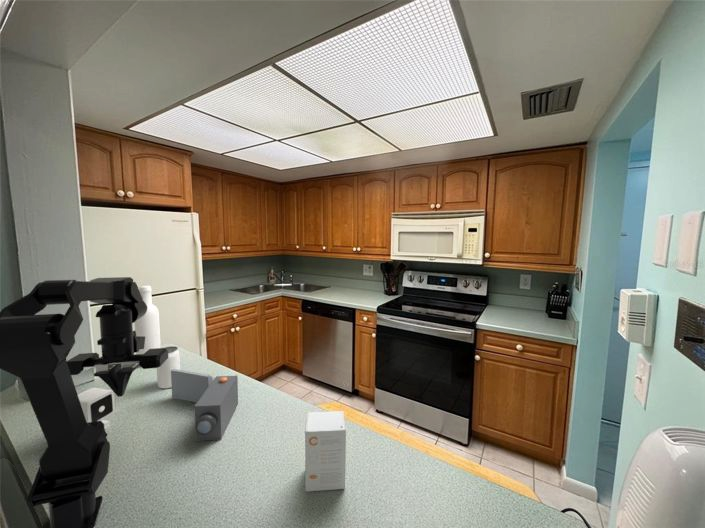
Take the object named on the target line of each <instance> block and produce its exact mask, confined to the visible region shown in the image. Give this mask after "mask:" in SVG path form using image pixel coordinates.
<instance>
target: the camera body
mask: <svg viewBox="0 0 705 528" xmlns="http://www.w3.org/2000/svg"><path fill="white" fill-rule="evenodd" d="M210 383H211V384H210V386H209V387H208V388H207V390H206V391H205V392H204V394H203V395H202V397H201V398H200V399H199V401H198V402H195V405H194V429H195V430H194V431H195V433H194V434H195V441H197V442H198V441H199V442H200V441H214V440H215V441H216V440H222V439H223V437H224V436H225V435H224V434H225V433H226V430H227V428H228V426H229V425H230V422H231V420H232V418H233V416H234V413H235V411H236V410H237V408H236V407H238V406H237V405H239V393H238V392H239V388H238V387H239V386H238V384H239V382H238V375H221V376H219V375H217V376H216V375H210Z"/></svg>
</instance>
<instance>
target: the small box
mask: <svg viewBox="0 0 705 528" xmlns="http://www.w3.org/2000/svg"><path fill="white" fill-rule="evenodd" d="M345 421H346V420H345V414H344V410H334V411H314V412H313V411H312V412H307V413H306V421H305V422H306V423H305V430H304V438H305V439H304V441H305V442H304V444H305V446H304V447H305V448H304V449H305V450H304V451H305V453H304V454H305V455H304V457H305V461H304V463H305V464H304V468H305V469H304V474H305V475H304V481H305V488H304V489H305V492H307V493H309V492H317V491H331V490H332V491H333V490H334V491H335V490H345V489H346V449H347V447H346V446H347V445H346V444H347V443H346V442H347V441H346V439H347V430H346V429H347V428H346V423H345Z"/></svg>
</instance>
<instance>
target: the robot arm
mask: <svg viewBox="0 0 705 528" xmlns="http://www.w3.org/2000/svg"><path fill="white" fill-rule="evenodd" d="M88 301H89V302H90V303H94V304H99V305H102V306H101V308H100V309H99V310H98V311H97V312H96V314H95V317H96V318H99V329H100V338H99V339H98V340H97V346H100V347H101V356H100V354H99V353H98V352H87V353H86V352H85V353H78V354H77V355H75V356H73V357H71V358H69V359H68V360H67V358H68V356H69V354H70V352H71V350H72V349H73V347H74V346H75V344H76V338H75V336H76V334H77V332H78V331H79V329H80V327H81V325H82V323H83V321H84V317H83V315H82V314H83V313H82V312H81V309H80V307H79V306H80V305H81V303H82V302H88ZM68 304H69V307H68V309H67V310H66V312H65V313H64V314H62V313H47V314H38V313H40V312H41V311H43V310H45V308H46V307H47V306H52V305H68ZM146 312H147V305H146V303H145V302H144V301H143V298H142V296H141V294H140V291H139V287H138V283H137V282H136V281H134V278H133V277H130V276H126V277H123V276H122V277H119V276H118V277H97V278H94V279H90V281H89V280H88V281H84V280H82V281H81V280H80V281H79V280H76V279H52V280H51V279H50V280H49V279H48V280H44V281H41V282H38V283H37V284H35V285H34V287H33V288H32V290H31V291H30V292H29V293H28V294H25V295H24V296H22V297H20V298H19V299H17V300H16V301H14V302H12V303H10V304H8V305H7V306H5V307H3V308H2V309H1V311H0V370H1V371H4V372H7V373H9V374H11V375H13V376H15V377H17V378H19V379H20V382H21V383H22V386H23V389H24V391H25V393H26V396H27V399H28V401H29V403H30V405H31V408H32V411H33V412H34V415H35V417H36V420H37V422H38V424H39V427H40V429H41V432H42V434H43V436H44V437H43V438H44V439H45V441H46V444H47V446H46V448H45V449H44V451H43V453H42V455H41V456H40V458H39V459H38V464H39V467H38V469H37V472H36V475H35V478H34V481H33V483H32V485H31V488H30V490H29V491H30V492H29V494H28V496H27V499H26V502H27V503H28V506H29V508H34V507H36V506H40V505H44V504H45V505H46V504H48V512H49V525H48V528H94V527H95V526H96V523H97V519H98V517H99V513H100V510H101V506H102V502H103V499H104V497H103V495H100V496H96V492H97V491H98V489H99V488H100V485H101V484H102V482H103V481H104V479H105V478H106V477H107V474H108V473H109V463H110V461H109V460H110V453H111V444H110V442H109V441H108V438H107V436H108V435H109V434H108V433H107V431H106V428H105V429H104V423H103V422H102V421H95V422H88V423H87V422H86V419H85V416H84V413H83V410H82V407H81V404H80V401H79V398H78V392H77V389H76V386H75V383H74V379H73V377H72V376H77V375H79V374H80V373H82V372H83V371H84V370H85V369H84V368H93V367H94V368H95V372H94V373H93V377H98V378H99V379H101V380H102V381H103V382H104V383H105V384H106V385H107V386H108V387H109V388H110V390H113V392H114V395H116V397H118V398H119V397H123V396H124V395H125V392H126V390H127V387H128V384H129V382H130V379H131V376H132V374H133V372H134V371H135V370H137V369H138V367H139V366H140V367H141V369H143V370H147V369H148V370H149V369H157V368H158V367H160V366H161V365H162V364H163V363H164V362H165V361H166V360H167V359H168V351H167V350H166V349H165V347H161V348H155V349H149V350H148V351H146V352H145V353H144V354H137V355H136V354H135V353H136V352H138V351H139V349H144V345H145V337H144V336H136V332H135V330H134V328H133V324H134V322H135V321H137V320H138V319H140V318H141V317H142V316H144V315H145V314H146Z"/></svg>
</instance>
